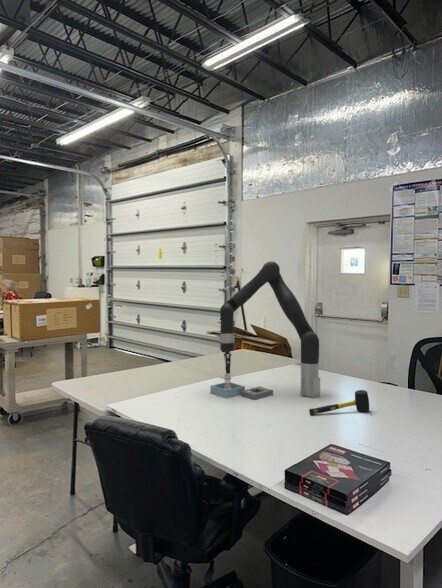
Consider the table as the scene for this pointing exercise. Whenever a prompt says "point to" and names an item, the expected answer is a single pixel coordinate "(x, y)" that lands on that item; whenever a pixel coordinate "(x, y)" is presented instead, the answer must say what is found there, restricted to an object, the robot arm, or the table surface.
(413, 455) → the table surface
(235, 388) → the parts tray
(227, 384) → the cylinder
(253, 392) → the fuse block
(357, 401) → the mallet
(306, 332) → the robot arm
